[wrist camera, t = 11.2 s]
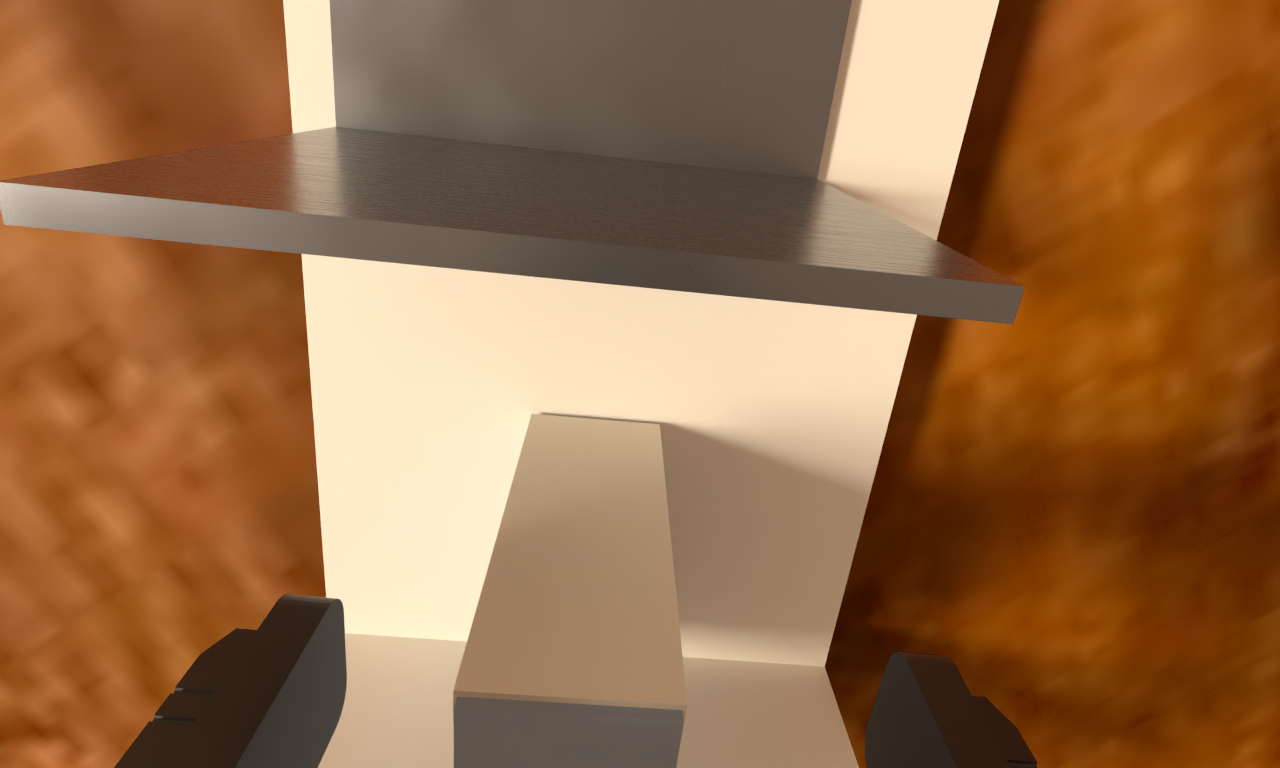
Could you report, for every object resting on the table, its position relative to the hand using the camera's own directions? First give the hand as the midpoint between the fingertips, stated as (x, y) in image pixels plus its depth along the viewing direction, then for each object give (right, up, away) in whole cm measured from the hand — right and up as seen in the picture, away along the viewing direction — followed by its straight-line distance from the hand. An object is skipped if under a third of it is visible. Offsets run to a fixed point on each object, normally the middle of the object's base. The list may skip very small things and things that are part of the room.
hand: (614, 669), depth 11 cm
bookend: (-1, +11, +4) cm, 12 cm away
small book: (-1, +1, +8) cm, 8 cm away
